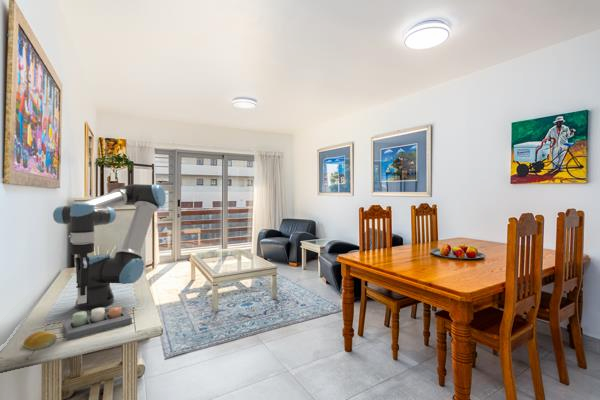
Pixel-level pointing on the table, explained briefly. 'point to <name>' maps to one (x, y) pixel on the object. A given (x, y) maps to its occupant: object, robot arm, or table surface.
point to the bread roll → (39, 340)
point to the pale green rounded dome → (79, 318)
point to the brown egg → (114, 312)
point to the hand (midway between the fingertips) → (82, 302)
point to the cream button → (97, 314)
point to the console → (95, 325)
